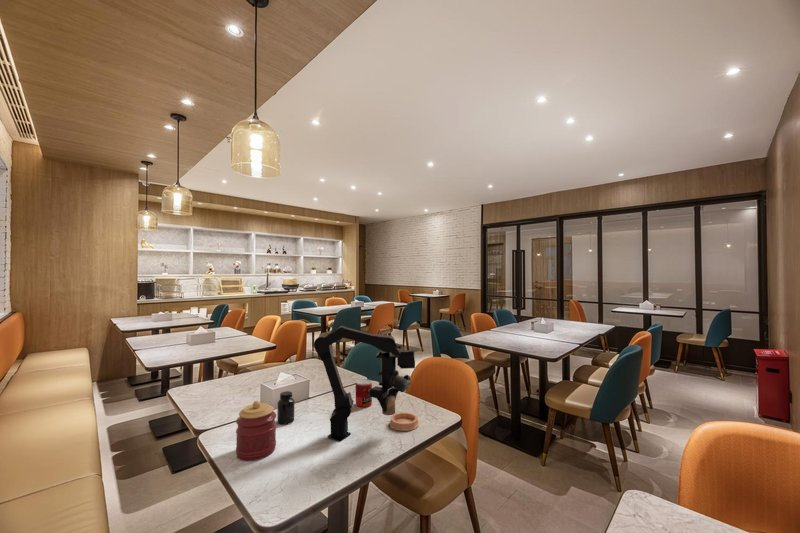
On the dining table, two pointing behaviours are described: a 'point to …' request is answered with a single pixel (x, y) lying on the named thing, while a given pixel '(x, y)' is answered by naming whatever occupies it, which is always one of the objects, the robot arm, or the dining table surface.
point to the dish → (404, 421)
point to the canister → (256, 432)
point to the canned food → (363, 393)
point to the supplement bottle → (285, 408)
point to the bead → (390, 406)
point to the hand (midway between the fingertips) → (388, 409)
